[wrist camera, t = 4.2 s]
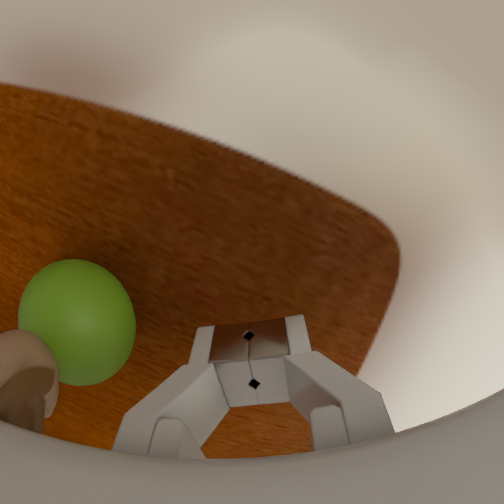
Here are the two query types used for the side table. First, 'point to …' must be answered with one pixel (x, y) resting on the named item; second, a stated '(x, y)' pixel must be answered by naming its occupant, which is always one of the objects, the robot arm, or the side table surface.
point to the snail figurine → (63, 338)
